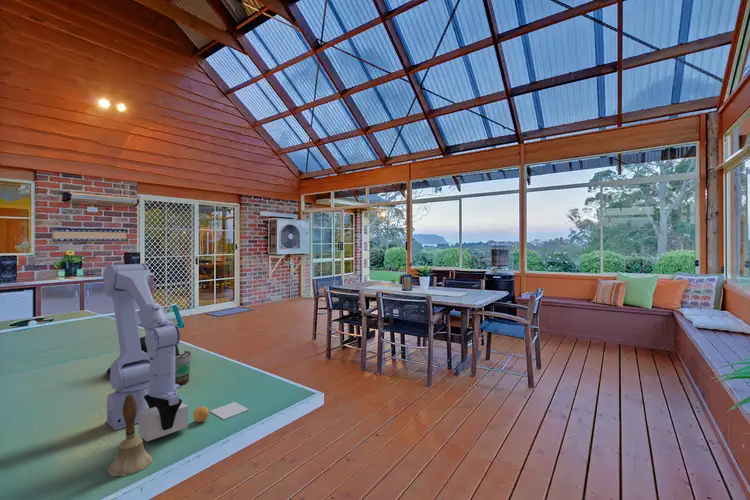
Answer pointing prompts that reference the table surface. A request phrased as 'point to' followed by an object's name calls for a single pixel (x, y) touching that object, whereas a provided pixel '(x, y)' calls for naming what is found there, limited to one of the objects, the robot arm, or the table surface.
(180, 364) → the food container
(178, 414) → the off-white rectangular block
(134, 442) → the hand bell
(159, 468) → the table surface
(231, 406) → the light gray square block
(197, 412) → the ball
